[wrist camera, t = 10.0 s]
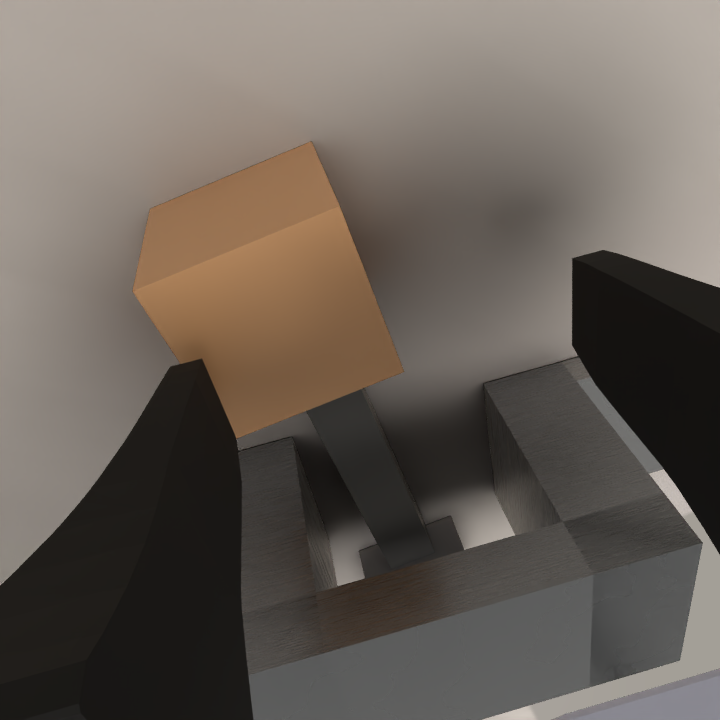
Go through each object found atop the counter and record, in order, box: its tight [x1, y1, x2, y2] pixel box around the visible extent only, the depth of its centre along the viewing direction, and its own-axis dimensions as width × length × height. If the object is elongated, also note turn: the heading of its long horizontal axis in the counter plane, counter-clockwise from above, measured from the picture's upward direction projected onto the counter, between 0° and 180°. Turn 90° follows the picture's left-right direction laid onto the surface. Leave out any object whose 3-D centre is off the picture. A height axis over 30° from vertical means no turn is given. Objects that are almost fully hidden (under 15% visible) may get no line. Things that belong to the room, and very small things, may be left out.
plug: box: [133, 142, 464, 579], centre depth 18 cm, size 16×4×4 cm, turn 19°
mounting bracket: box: [238, 357, 703, 720], centre depth 18 cm, size 5×18×7 cm, turn 102°
